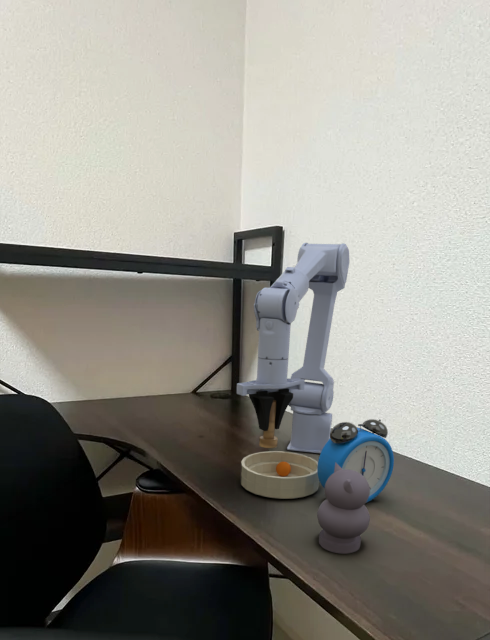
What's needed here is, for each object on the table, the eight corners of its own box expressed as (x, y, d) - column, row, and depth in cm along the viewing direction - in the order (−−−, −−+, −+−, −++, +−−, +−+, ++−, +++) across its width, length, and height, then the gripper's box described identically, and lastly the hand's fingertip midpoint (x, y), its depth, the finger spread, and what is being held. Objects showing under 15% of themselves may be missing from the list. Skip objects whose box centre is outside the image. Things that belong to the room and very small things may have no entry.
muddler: (270, 441, 105) (272, 397, 101) (280, 446, 102) (283, 401, 99) (255, 444, 103) (257, 399, 100) (266, 449, 100) (268, 403, 97)
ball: (291, 474, 106) (292, 460, 104) (289, 479, 103) (290, 465, 102) (276, 472, 106) (277, 458, 105) (274, 477, 103) (275, 463, 102)
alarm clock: (331, 512, 91) (341, 429, 85) (312, 498, 96) (319, 419, 90) (389, 500, 96) (401, 422, 90) (368, 488, 101) (378, 413, 95)
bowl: (321, 476, 107) (323, 455, 105) (314, 505, 93) (316, 482, 91) (250, 468, 109) (250, 448, 107) (232, 495, 96) (232, 472, 94)
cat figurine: (373, 556, 77) (385, 481, 72) (321, 558, 76) (330, 482, 71) (356, 530, 84) (365, 461, 80) (309, 531, 83) (315, 461, 79)
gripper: (290, 353, 103) (286, 419, 108) (228, 356, 95) (227, 428, 101) (313, 358, 98) (307, 428, 103) (249, 362, 90) (247, 437, 95)
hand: (269, 428), depth 101 cm, fingers closed on muddler, 2 cm apart
